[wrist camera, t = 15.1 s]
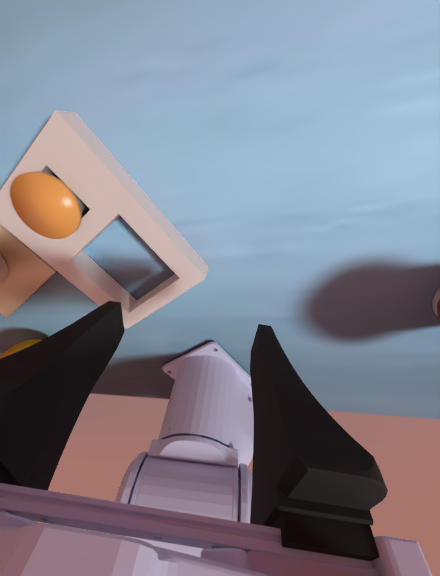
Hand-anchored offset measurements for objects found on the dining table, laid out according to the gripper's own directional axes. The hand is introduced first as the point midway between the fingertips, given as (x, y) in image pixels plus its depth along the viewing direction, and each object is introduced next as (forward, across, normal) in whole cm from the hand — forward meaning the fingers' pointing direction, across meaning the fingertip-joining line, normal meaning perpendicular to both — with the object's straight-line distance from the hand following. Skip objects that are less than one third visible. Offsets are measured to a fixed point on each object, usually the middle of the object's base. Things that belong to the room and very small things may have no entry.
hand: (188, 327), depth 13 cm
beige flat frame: (+9, +8, 0) cm, 13 cm away
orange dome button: (+9, +11, -3) cm, 15 cm away
